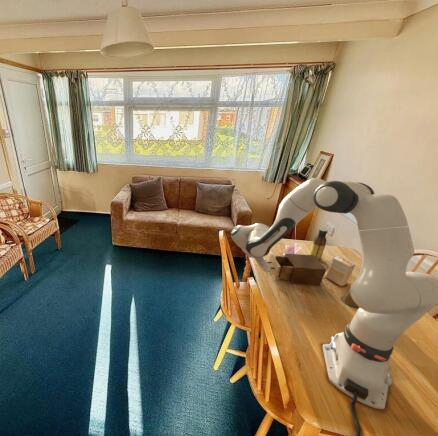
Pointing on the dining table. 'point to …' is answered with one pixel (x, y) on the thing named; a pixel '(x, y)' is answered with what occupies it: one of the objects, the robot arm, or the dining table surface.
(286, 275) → the drawer
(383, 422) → the dining table surface
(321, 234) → the sauce bottle
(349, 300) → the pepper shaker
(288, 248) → the lily
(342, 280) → the supplement box
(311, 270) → the cabinet
